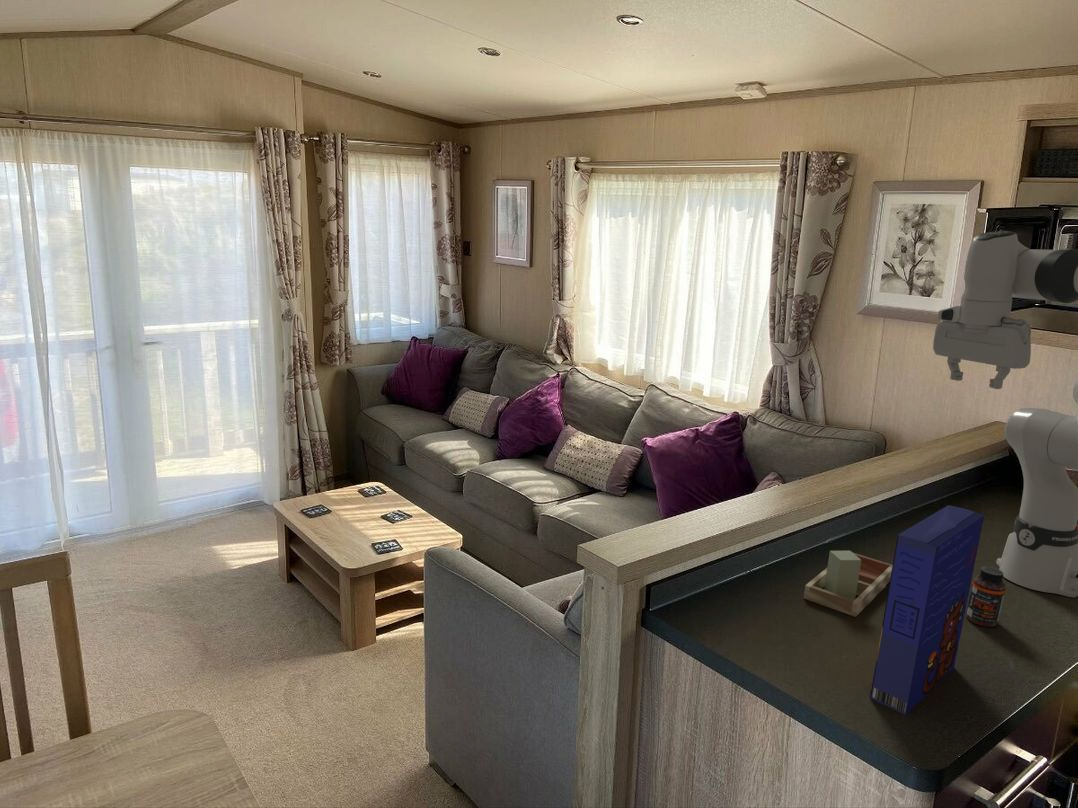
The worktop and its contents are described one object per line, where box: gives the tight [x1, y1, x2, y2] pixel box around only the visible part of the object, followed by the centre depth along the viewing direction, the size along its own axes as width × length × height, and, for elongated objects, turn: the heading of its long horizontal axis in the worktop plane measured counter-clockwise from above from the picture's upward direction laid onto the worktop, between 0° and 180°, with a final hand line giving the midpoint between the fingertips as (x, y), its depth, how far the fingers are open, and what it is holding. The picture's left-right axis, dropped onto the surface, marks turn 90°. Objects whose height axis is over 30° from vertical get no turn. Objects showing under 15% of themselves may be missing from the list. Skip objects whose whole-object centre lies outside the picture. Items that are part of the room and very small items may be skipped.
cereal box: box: [869, 504, 985, 716], centre depth 137 cm, size 22×6×30 cm, turn 134°
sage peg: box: [823, 550, 861, 600], centre depth 169 cm, size 5×5×10 cm
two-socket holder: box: [803, 551, 893, 618], centre depth 175 cm, size 25×11×3 cm, turn 140°
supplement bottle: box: [965, 566, 1007, 628], centre depth 163 cm, size 6×6×11 cm
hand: (975, 384), depth 161 cm, fingers open, 8 cm apart
